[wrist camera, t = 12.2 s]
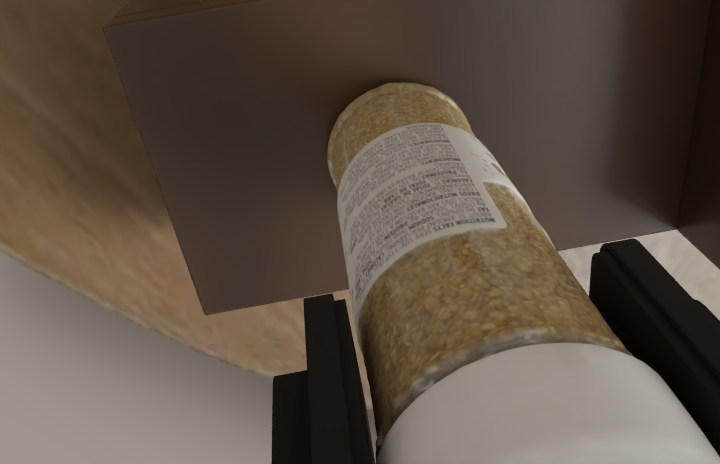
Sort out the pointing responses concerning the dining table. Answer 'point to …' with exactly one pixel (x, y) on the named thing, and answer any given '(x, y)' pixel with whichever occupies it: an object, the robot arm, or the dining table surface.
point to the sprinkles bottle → (479, 307)
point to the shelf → (429, 68)
